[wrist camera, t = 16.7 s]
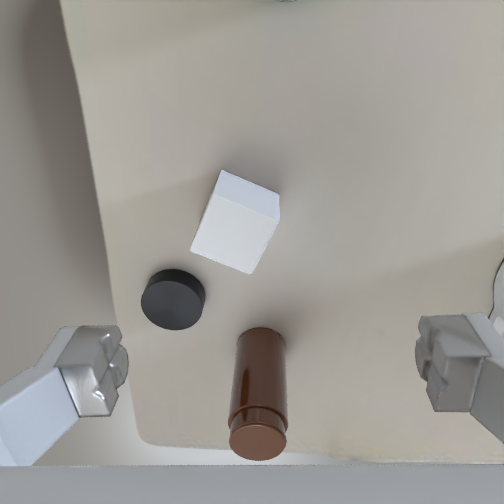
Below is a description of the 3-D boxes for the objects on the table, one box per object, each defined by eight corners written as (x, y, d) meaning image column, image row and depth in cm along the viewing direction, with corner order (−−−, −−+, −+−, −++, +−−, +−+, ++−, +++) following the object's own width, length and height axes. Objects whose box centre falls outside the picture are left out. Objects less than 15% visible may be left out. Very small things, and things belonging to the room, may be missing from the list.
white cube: (221, 169, 39) (213, 192, 34) (279, 194, 40) (279, 220, 35) (199, 222, 42) (189, 251, 37) (254, 244, 43) (251, 275, 38)
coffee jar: (295, 343, 49) (301, 441, 38) (265, 371, 52) (263, 470, 41) (255, 319, 48) (250, 413, 37) (227, 349, 50) (213, 446, 39)
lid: (135, 279, 46) (129, 291, 44) (189, 261, 45) (185, 273, 43) (163, 323, 49) (159, 336, 47) (214, 308, 47) (212, 321, 45)
